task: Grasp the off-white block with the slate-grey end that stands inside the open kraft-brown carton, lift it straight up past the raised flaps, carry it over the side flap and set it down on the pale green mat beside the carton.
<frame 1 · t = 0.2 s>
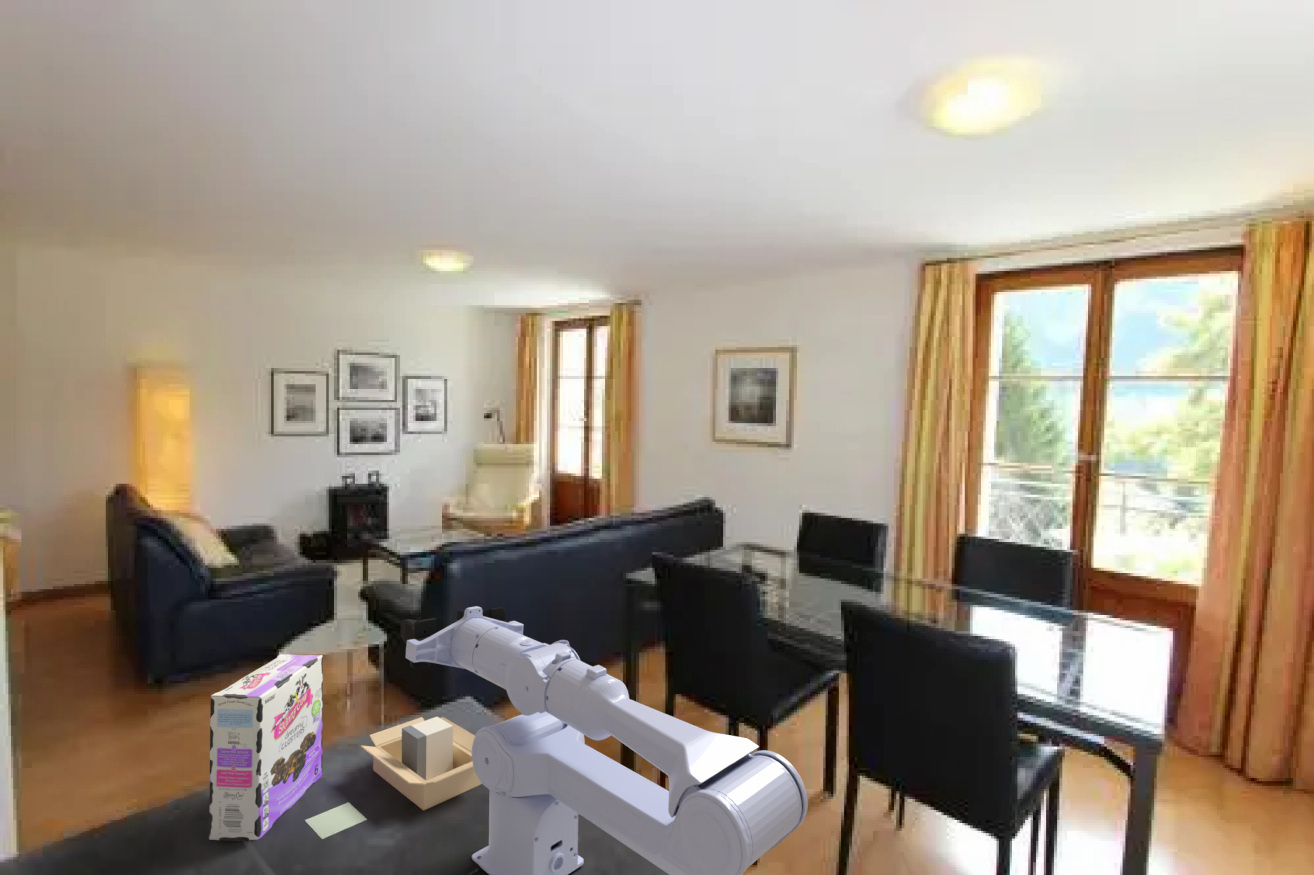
hand: (432, 623, 83), 21 cm above the kitchen counter, tool horizontal, fingers open, 7 cm apart
carton: (427, 779, 86), on the kitchen counter
mat: (335, 823, 77), on the kitchen counter
candy box: (270, 808, 80), on the kitchen counter
block: (427, 776, 86), resting on carton
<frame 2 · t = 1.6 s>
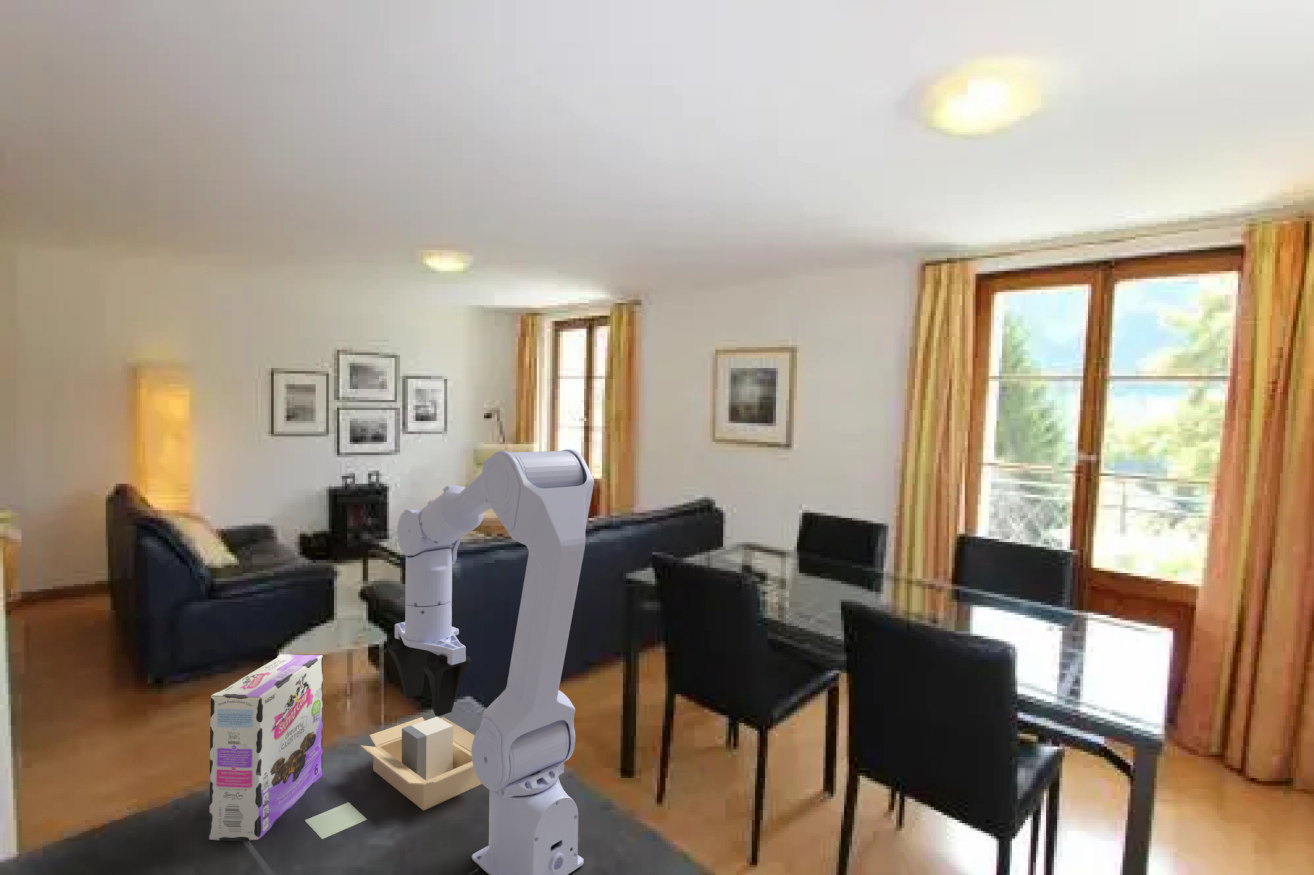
hand: (427, 704, 86), 10 cm above the kitchen counter, tool pointing down, fingers open, 7 cm apart
nothing on the kitchen counter moved.
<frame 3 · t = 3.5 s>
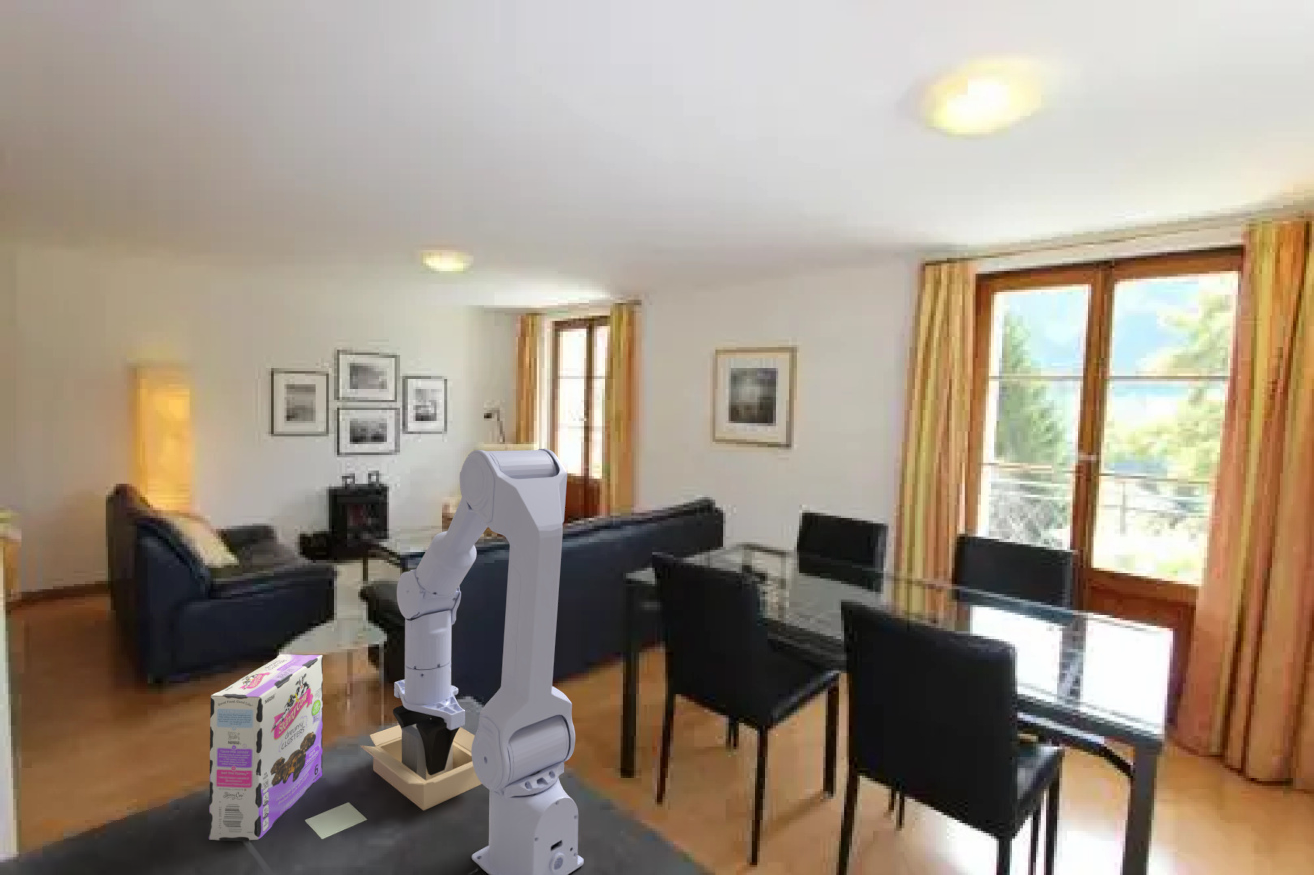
hand: (427, 765, 86), 2 cm above the kitchen counter, tool pointing down, fingers closed on block, 4 cm apart
block: (427, 776, 86), resting on carton, touching gripper
everything else where it was.
when the fingers open (3 cm above the kitchen counter, at t = 8.1 s): block drops 1 cm, resting on mat.
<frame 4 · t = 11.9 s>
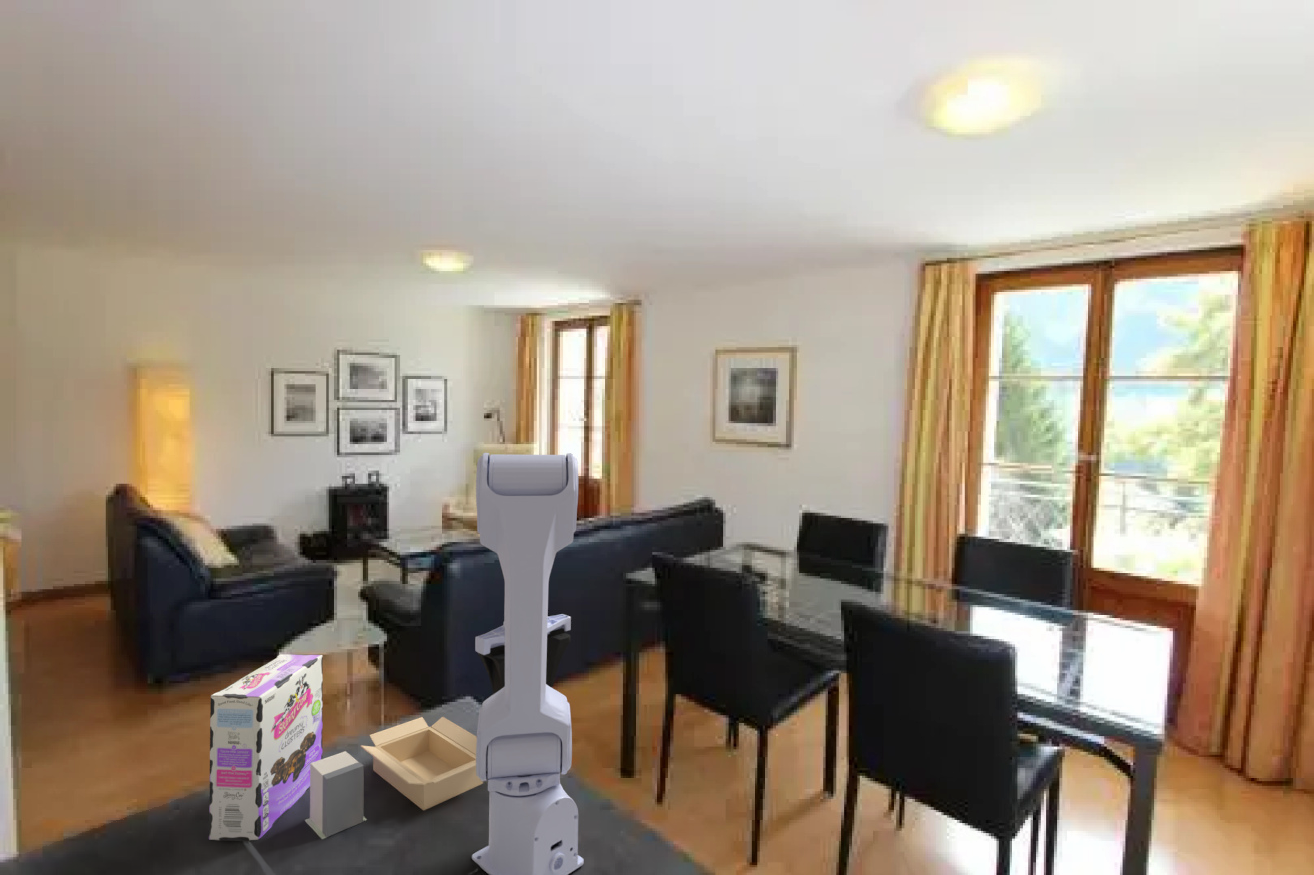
hand: (524, 693, 90), 10 cm above the kitchen counter, tool pointing down, fingers open, 7 cm apart
block: (336, 820, 77), resting on mat
everything else where it was.
at the end: block 0.1 cm off-centre on the mat, point 0.4 cm above the mat's base; block tilted 0°; the gripper is holding nothing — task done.
